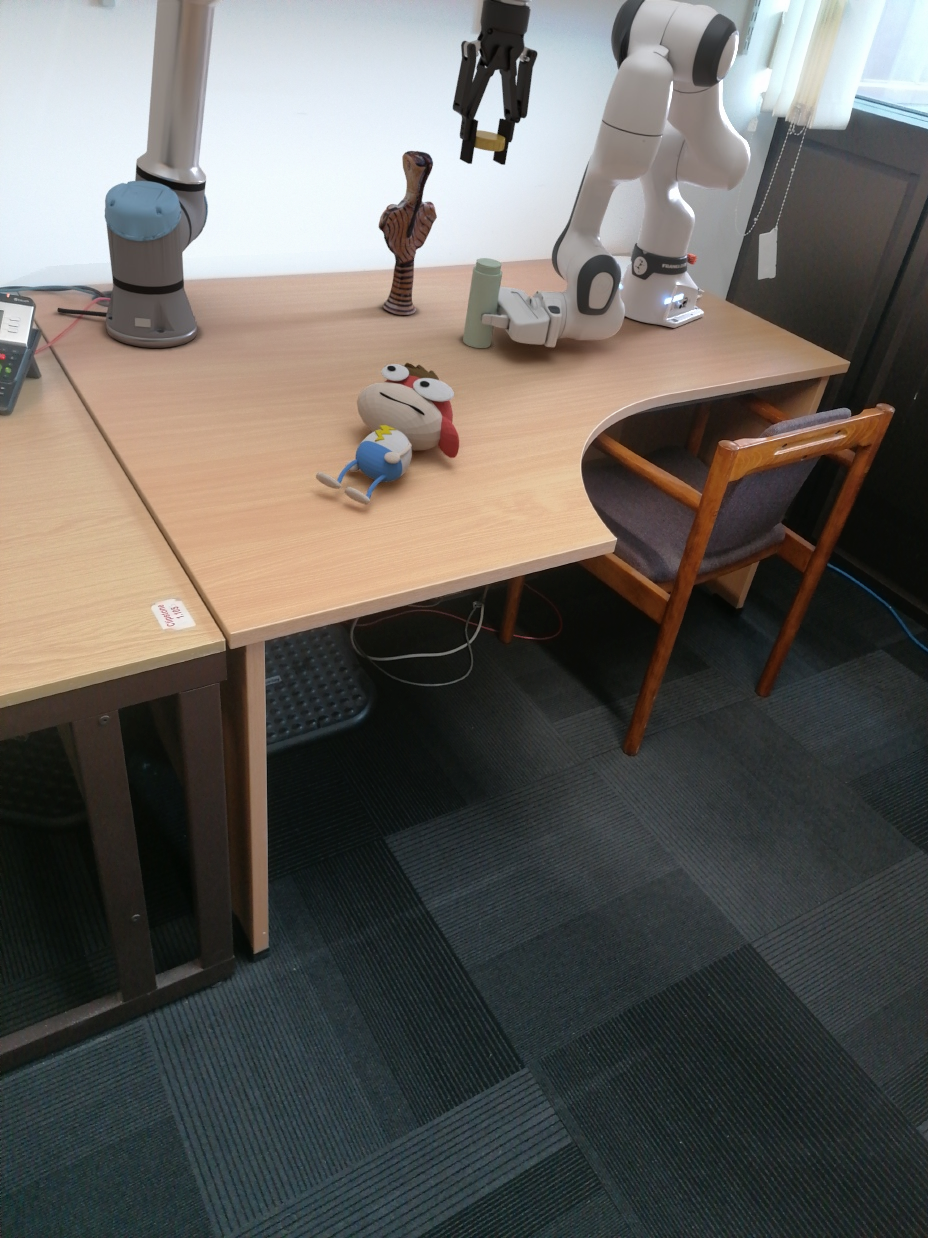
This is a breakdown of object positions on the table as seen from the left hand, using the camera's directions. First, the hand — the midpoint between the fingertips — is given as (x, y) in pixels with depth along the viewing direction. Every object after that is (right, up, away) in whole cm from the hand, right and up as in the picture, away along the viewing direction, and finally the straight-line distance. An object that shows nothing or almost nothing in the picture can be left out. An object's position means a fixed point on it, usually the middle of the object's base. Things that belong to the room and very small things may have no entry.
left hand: (482, 161), depth 152 cm
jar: (-1, -24, +24) cm, 33 cm away
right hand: (-1, -19, +19) cm, 27 cm away
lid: (+1, +3, -2) cm, 4 cm away
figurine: (-16, -14, +31) cm, 38 cm away
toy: (-15, -54, -18) cm, 59 cm away
